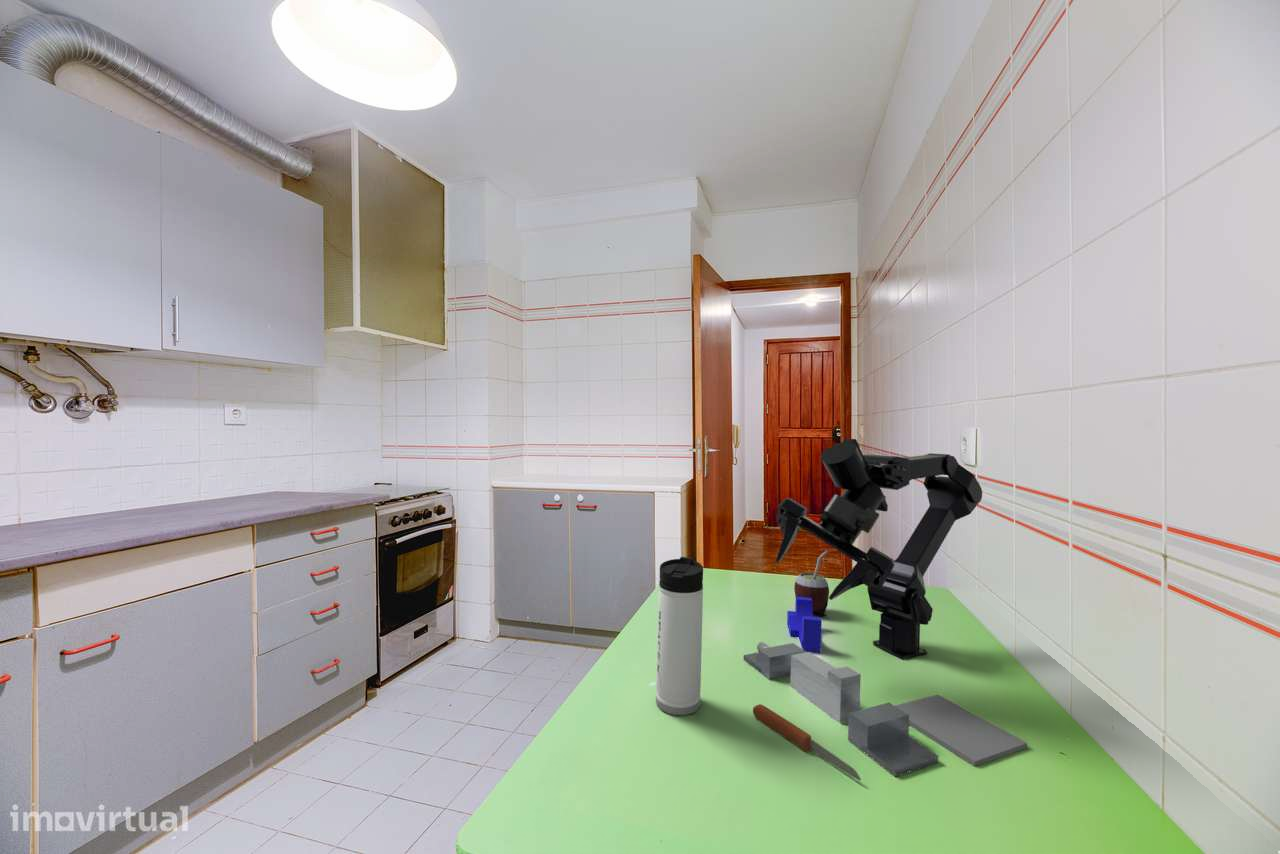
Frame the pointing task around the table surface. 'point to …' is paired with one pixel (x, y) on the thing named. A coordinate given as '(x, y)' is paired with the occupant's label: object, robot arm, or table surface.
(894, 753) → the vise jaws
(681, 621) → the travel mug
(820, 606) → the mate gourd
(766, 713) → the kitchen knife
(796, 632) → the blue stepped block
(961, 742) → the mat
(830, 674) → the steel bar
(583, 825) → the table surface
